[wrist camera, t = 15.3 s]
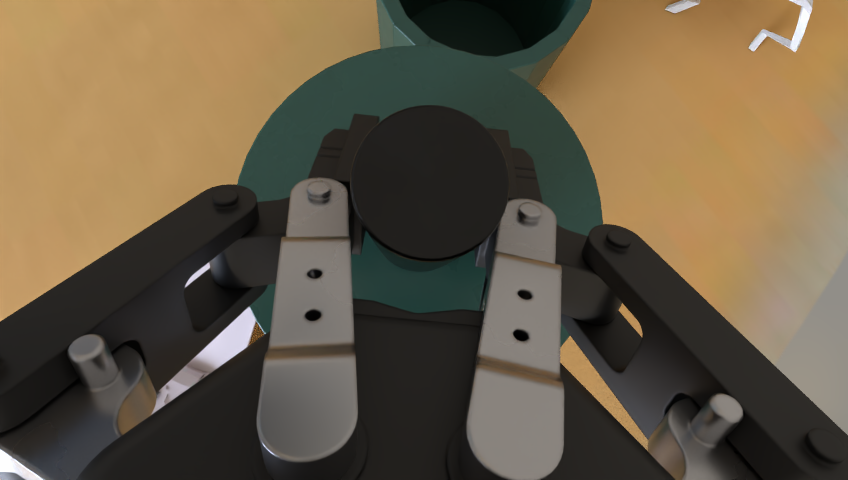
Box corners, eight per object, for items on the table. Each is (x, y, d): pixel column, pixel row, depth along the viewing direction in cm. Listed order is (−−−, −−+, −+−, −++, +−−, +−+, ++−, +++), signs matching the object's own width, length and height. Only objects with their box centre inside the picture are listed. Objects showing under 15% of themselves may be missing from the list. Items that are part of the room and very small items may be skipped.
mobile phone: (274, 273, 29) (69, 719, 27) (297, 276, 35) (131, 641, 32) (177, 231, 29) (-37, 672, 27) (216, 241, 35) (43, 603, 33)
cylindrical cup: (364, 15, 37) (345, -115, 25) (510, -22, 37) (560, -165, 25) (405, 158, 36) (407, 96, 24) (553, 118, 37) (626, 38, 25)
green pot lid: (208, 112, 18) (48, -31, 10) (530, 28, 18) (627, -169, 10) (295, 447, 17) (197, 595, 9) (630, 347, 17) (819, 398, 10)
